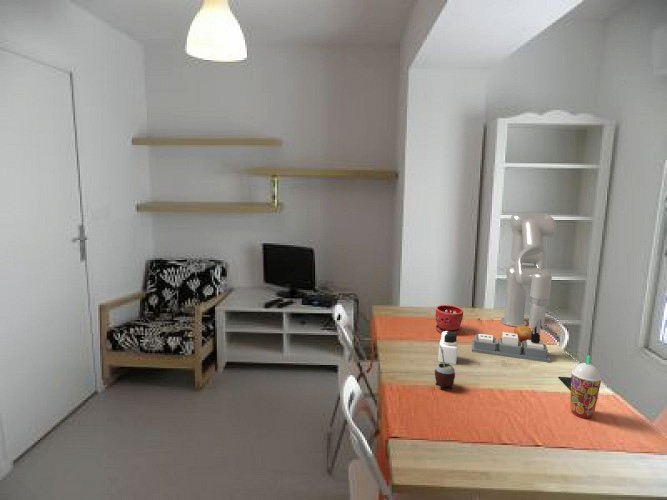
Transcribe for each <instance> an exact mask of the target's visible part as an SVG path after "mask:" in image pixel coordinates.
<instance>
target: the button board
mask: <svg viewBox="0 0 667 500" xmlns="http://www.w3.org/2000/svg"><path fill="white" fill-rule="evenodd" d="M478 336H479V334H476V335H474V339H472V340H471V352H472V353H478V354H486V355H494V356H501V357H507V358H515V359H521V360H528V361H534V362H535V361H537V362H543V363H551V359H550V356H549V354H548V353H549V352H548V347H547V345H546V344H545V343H544V342H542V344H543V346H544V349H543V350H542V349H535V348H527V346H526V341H522V342H520V341H519V340H518V346H512V345H504V344H502V337H499V338H497V337H495V336H493V343H489V342H482V341H478Z"/></svg>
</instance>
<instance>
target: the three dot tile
mask: <svg viewBox="0 0 667 500" xmlns="http://www.w3.org/2000/svg"><path fill="white" fill-rule="evenodd" d="M478 335H479V336H478V341H482V342H489V343H493V337H494V335H492V334H484V333H478Z"/></svg>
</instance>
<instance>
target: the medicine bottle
mask: <svg viewBox="0 0 667 500" xmlns="http://www.w3.org/2000/svg"><path fill="white" fill-rule="evenodd" d="M457 337H458V336H457V334H456V333H454V332H452V331H444V332H442V333H441V339H440V341H439V343H440V345H441V347H442V350H443V355H444V362H445V363H447V364H450V365H456V364H457V359H458V348H459V347H458V345H459V342H458V341H457ZM437 357H438V358H437V359H438V360H437V362H439V363H443V359H442V353H441V348H440V346H439V345H438V356H437Z"/></svg>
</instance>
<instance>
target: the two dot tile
mask: <svg viewBox="0 0 667 500" xmlns="http://www.w3.org/2000/svg"><path fill="white" fill-rule="evenodd" d="M501 338H502V344H504V345H512V346H518V335H517V334H514V332H505V331H502V335H501Z"/></svg>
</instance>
